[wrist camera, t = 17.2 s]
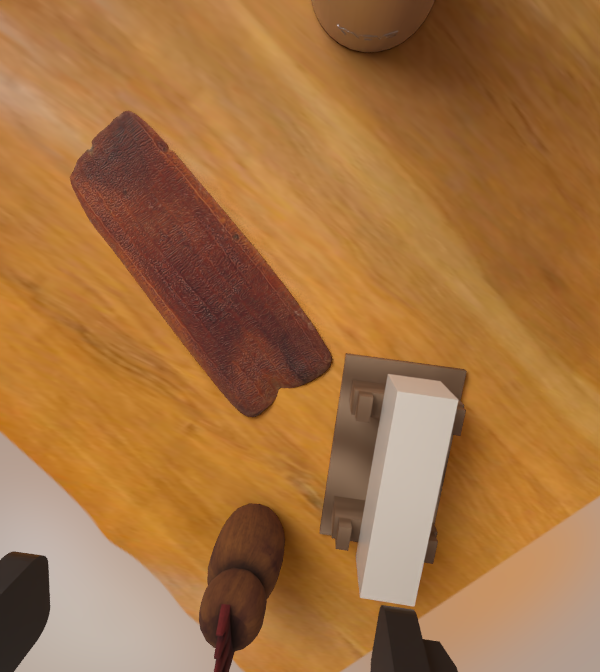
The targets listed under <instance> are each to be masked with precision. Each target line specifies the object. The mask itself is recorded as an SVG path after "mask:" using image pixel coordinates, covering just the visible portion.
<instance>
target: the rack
mask: <svg viewBox="0 0 600 672" xmlns="http://www.w3.org/2000/svg"><path fill="white" fill-rule="evenodd" d="M466 372H467V371H466V370H464V369H458V368H451V367H444V366H436V365H429V364H421V363H414V362H406V361H399V360H391V359H384V358H377V357H369V356H362V355H354V354H347V353H346V357H345V364H344V371H343V377H342V384H341V391H340V397H339V404H338V411H337V418H336V424H335V431H334V438H333V444H332V451H331V458H330V465H329V471H328V478H327V485H326V492H325V498H324V505H323V512H322V518H321V525H320V534H325V535H332V538H335V542H336V549H341V550H347V551H348V548H349V542H350V541H354V542H358V541H359V535H360V529H361V524H362V518H363V512H364V507H365V501H366V495H367V490H368V484H369V478H370V473H371V467H372V461H373V456H374V450H375V444H376V438H377V433H378V427H379V421H380V416H381V410H382V404H383V399H384V393H385V387H386V382H387V376H388V374H392V375H400V376H407V377H414V378H421V379H428V380H435V381H441V382H442V383H443V384H444V385H445V386H446V387H447V389H448V390H449V391H450V392H451V393H452V394H453V395H454V396H455V397H456V398H457V399H458V405H457V409H456V414H455V419H454V423H453V428H452V433H451V437H450V442H449V447H448V452H447V456H446V461H445V466H444V470H443V475H442V480H441V484H440V489H439V494H438V498H437V503H436V508H435V512H434V517H433V522H432V526H431V531H430V536H429V540H428V545H427V550H426V555H425V559H424V563H431V564H433V562H434V557H435V552H436V548H437V543H438V541H437V539H436V537H437V530H436V528H435V525H434V524H435V520H436V515H437V510H438V505H439V501H440V496H441V491H442V486H443V481H444V477H445V472H446V467H447V462H448V458H449V453H450V448H451V443H452V439H453V435H458V436H460V435H461V431H462V426H463V421H464V417H465V412H466V410H465V409H464V404H463V403H462V402H461V401H460V400H461V396H462V391H463V386H464V381H465V377H466Z"/></svg>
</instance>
